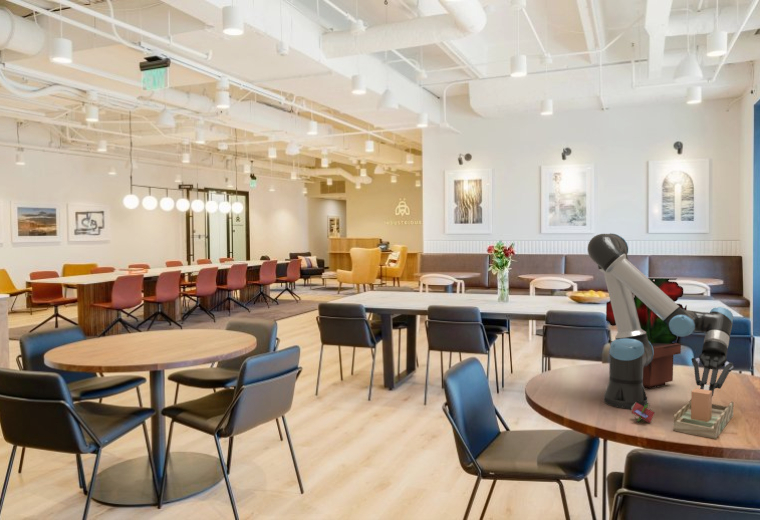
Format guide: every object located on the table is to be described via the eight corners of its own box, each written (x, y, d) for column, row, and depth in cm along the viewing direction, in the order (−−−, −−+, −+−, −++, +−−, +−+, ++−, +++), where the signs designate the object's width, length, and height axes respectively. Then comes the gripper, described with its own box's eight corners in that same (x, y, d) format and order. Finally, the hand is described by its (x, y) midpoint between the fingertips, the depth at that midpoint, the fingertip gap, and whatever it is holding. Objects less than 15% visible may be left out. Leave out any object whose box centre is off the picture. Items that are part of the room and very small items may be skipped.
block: (708, 421, 187) (708, 394, 187) (691, 418, 190) (691, 391, 190) (711, 417, 191) (712, 390, 190) (694, 414, 194) (695, 388, 194)
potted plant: (684, 386, 242) (687, 278, 240) (652, 393, 231) (655, 280, 229) (636, 375, 261) (638, 275, 259) (604, 381, 250) (606, 277, 247)
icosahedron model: (662, 416, 195) (647, 395, 198) (656, 421, 190) (641, 399, 193) (644, 425, 199) (630, 404, 202) (637, 430, 194) (623, 408, 197)
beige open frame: (715, 439, 180) (716, 423, 180) (673, 430, 188) (673, 415, 187) (733, 415, 203) (733, 401, 203) (694, 409, 210) (695, 395, 210)
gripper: (738, 354, 203) (728, 413, 191) (696, 350, 212) (684, 405, 200) (735, 341, 199) (725, 400, 187) (693, 337, 207) (680, 393, 195)
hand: (704, 403), depth 193 cm, fingers closed
